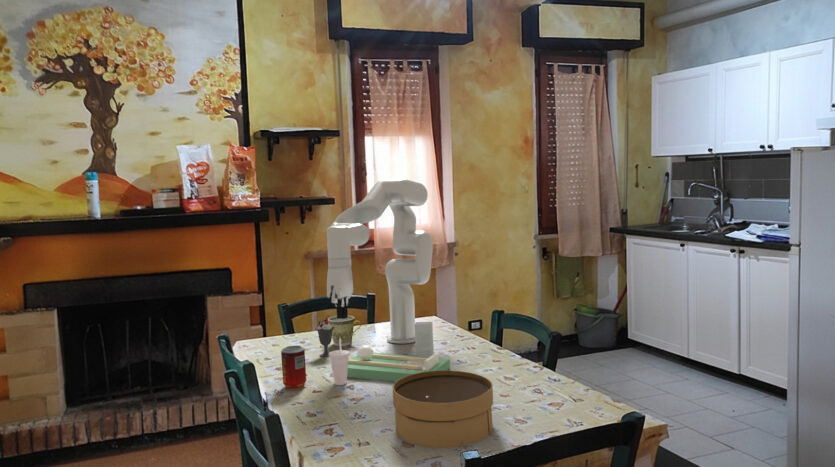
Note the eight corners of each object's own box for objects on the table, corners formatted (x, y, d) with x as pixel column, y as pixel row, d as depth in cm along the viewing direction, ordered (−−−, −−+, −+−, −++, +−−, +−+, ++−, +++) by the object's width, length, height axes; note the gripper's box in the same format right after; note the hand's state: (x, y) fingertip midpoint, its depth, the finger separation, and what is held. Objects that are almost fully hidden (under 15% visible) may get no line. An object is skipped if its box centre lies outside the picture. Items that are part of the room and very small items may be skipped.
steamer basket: (486, 407, 173) (485, 366, 172) (501, 447, 148) (500, 399, 147) (394, 412, 172) (392, 371, 171) (394, 453, 147) (392, 406, 146)
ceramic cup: (325, 346, 242) (323, 320, 241) (336, 340, 252) (334, 315, 251) (357, 348, 238) (355, 321, 238) (366, 341, 248) (365, 315, 247)
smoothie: (347, 386, 194) (345, 341, 193) (327, 386, 195) (324, 341, 194) (353, 380, 200) (351, 336, 199) (334, 379, 202) (331, 336, 200)
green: (363, 360, 222) (362, 343, 221) (449, 367, 209) (449, 349, 209) (336, 376, 205) (335, 357, 205) (428, 385, 193) (428, 365, 192)
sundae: (334, 357, 227) (332, 316, 225) (315, 358, 227) (313, 316, 226) (337, 352, 233) (335, 312, 232) (318, 353, 233) (316, 312, 232)
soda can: (311, 384, 198) (309, 345, 196) (296, 391, 192) (293, 351, 190) (294, 381, 201) (291, 343, 200) (278, 388, 195) (275, 349, 194)
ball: (362, 357, 214) (362, 343, 214) (376, 359, 212) (375, 344, 212) (355, 362, 210) (354, 347, 209) (369, 363, 208) (368, 348, 207)
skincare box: (434, 354, 225) (432, 321, 224) (433, 358, 221) (432, 324, 220) (417, 355, 226) (415, 321, 225) (415, 358, 222) (414, 324, 221)
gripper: (341, 260, 220) (343, 313, 221) (317, 266, 206) (320, 322, 208) (360, 260, 217) (363, 314, 218) (338, 266, 203) (340, 323, 205)
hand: (342, 317), depth 213 cm, fingers closed
